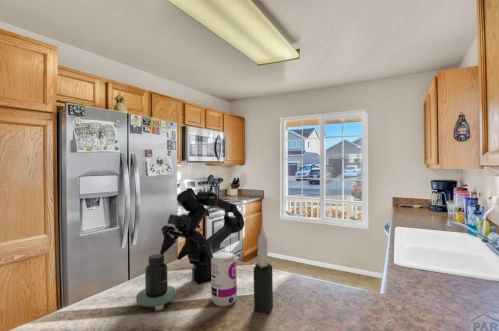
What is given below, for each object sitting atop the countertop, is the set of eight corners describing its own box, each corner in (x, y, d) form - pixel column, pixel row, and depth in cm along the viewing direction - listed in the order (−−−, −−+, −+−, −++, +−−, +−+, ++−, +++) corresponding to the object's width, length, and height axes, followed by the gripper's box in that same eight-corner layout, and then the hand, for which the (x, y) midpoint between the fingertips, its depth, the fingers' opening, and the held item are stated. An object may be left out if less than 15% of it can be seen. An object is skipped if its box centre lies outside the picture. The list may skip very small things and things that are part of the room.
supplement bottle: (167, 296, 84) (167, 258, 84) (144, 299, 82) (143, 261, 82) (167, 286, 90) (167, 251, 90) (146, 289, 88) (145, 253, 88)
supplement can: (241, 297, 88) (240, 252, 88) (228, 309, 81) (228, 260, 81) (220, 292, 92) (219, 249, 92) (206, 304, 84) (206, 257, 84)
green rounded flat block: (170, 290, 94) (169, 282, 94) (180, 305, 84) (180, 295, 84) (133, 299, 88) (133, 290, 88) (139, 317, 77) (139, 307, 77)
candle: (273, 305, 83) (272, 225, 83) (269, 314, 78) (268, 229, 78) (258, 303, 84) (256, 224, 84) (253, 311, 80) (251, 228, 80)
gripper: (165, 203, 100) (138, 239, 91) (199, 207, 89) (172, 248, 80) (181, 221, 106) (158, 256, 97) (215, 226, 95) (192, 266, 86)
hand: (169, 256), depth 90 cm, fingers open, 9 cm apart
